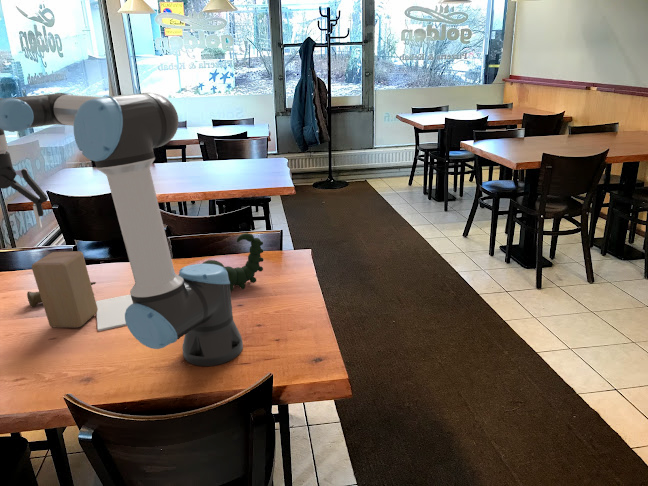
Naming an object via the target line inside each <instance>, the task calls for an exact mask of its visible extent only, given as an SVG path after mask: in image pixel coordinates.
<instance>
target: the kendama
mask: <svg viewBox="0 0 648 486" xmlns="http://www.w3.org/2000/svg"><path fill="white" fill-rule="evenodd" d="M96 284H97V282H96V281H92V282H91V286H93V285H96ZM26 296H27V301H28V304H29V306H30V307H31V308H34V307H35V306H36V305H38V304H41V303H42V299H41V296H40V293H39V291H35V292H34V291H27V294H26Z"/></svg>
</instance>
